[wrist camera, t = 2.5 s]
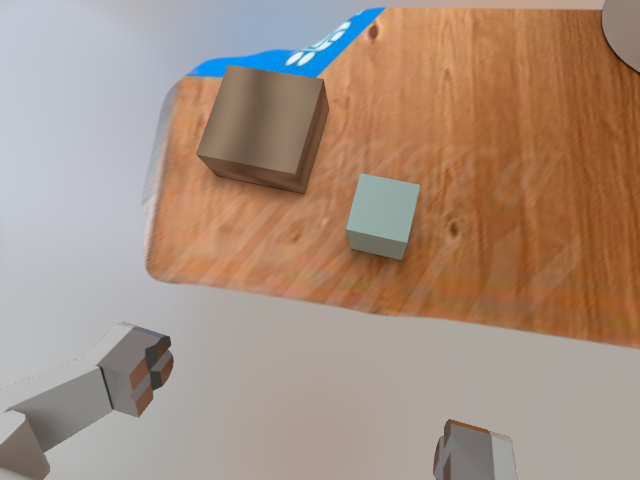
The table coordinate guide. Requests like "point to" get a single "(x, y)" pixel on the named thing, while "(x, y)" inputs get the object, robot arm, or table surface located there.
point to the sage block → (382, 216)
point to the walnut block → (265, 128)
